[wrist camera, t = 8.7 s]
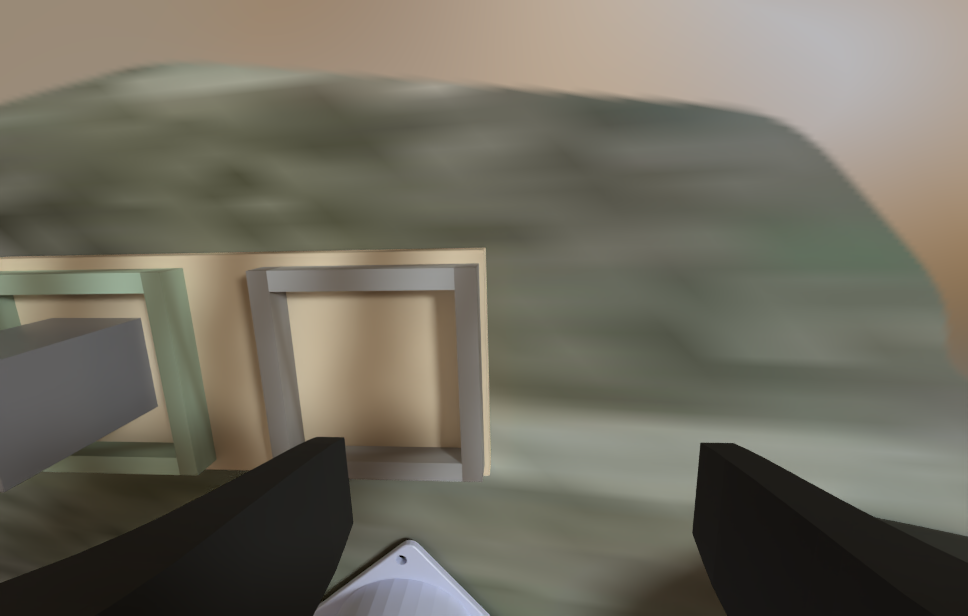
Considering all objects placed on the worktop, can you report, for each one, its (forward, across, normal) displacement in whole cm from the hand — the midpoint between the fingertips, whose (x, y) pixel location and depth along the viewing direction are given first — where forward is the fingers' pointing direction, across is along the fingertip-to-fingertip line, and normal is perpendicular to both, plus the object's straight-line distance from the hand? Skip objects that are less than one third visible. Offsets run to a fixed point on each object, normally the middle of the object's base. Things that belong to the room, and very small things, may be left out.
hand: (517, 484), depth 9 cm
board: (+10, +12, +1) cm, 15 cm away
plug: (+9, +18, +1) cm, 20 cm away
